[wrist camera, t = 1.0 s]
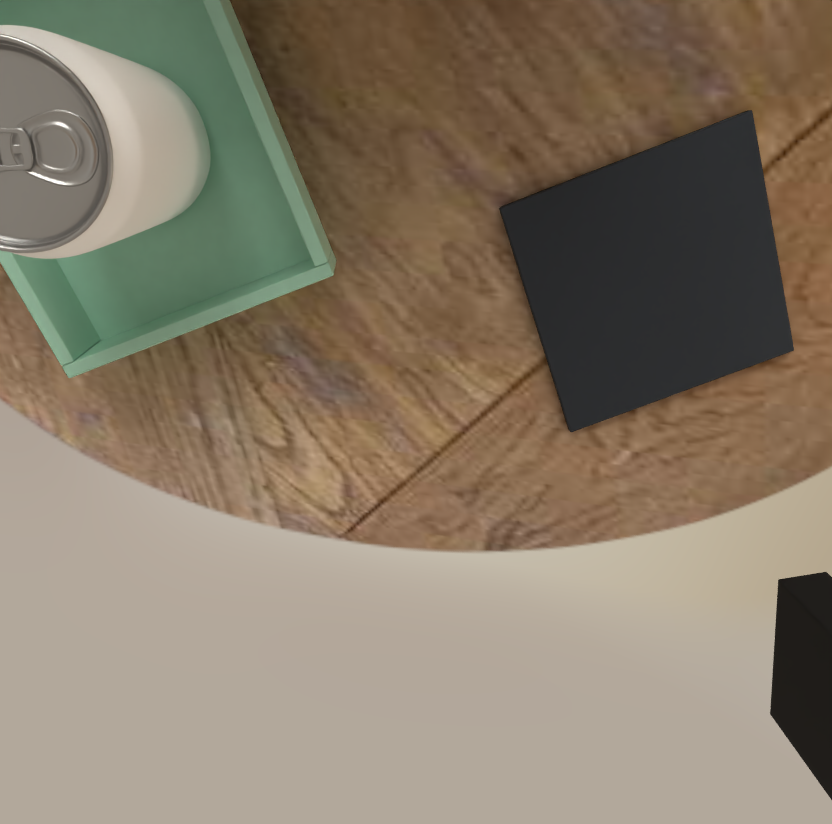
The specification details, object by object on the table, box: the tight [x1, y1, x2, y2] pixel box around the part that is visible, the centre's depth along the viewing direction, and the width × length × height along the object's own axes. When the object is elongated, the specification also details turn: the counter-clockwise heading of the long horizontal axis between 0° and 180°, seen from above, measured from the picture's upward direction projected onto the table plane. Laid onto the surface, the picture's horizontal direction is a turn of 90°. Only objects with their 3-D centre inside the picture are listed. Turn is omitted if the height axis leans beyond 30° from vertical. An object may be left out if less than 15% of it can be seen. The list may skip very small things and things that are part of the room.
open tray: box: [0, 0, 336, 378], centre depth 29 cm, size 15×12×4 cm
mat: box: [499, 110, 794, 432], centre depth 34 cm, size 12×12×1 cm
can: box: [0, 25, 211, 259], centre depth 25 cm, size 6×6×12 cm
